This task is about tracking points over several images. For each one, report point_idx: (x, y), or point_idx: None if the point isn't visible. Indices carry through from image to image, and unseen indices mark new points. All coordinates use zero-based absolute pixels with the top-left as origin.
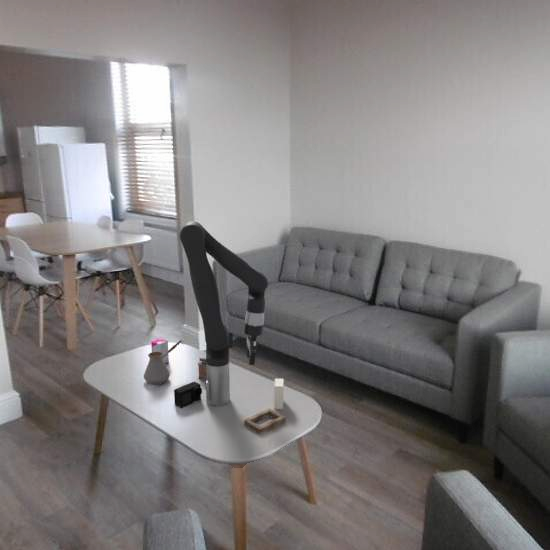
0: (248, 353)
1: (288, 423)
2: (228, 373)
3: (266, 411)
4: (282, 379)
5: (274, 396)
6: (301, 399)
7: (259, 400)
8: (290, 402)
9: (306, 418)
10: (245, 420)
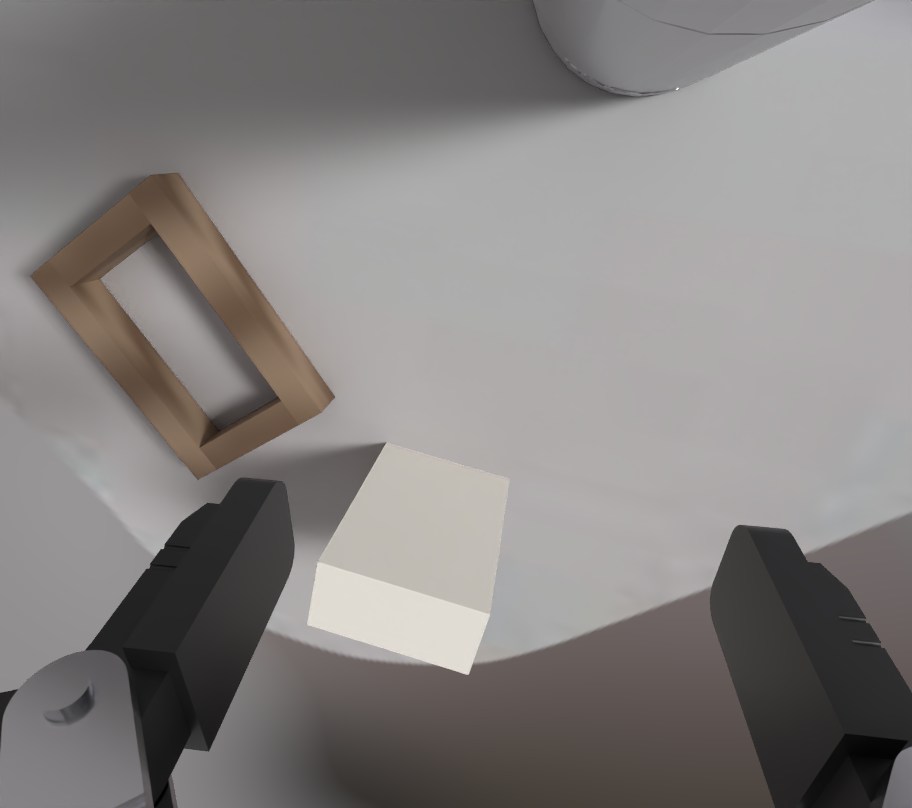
0: (766, 619)
1: None
2: (612, 17)
3: (275, 380)
4: (451, 662)
5: (354, 499)
6: None
7: (541, 372)
8: None
9: None
10: (145, 184)
